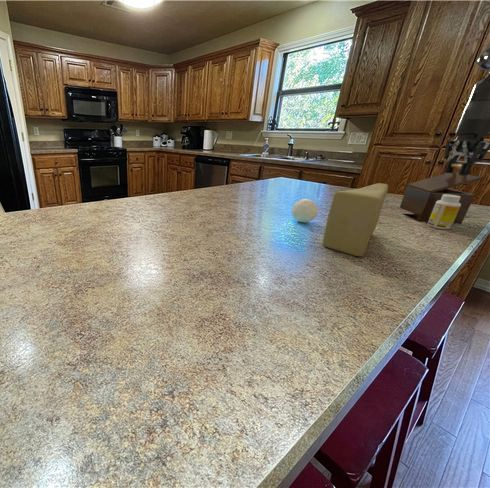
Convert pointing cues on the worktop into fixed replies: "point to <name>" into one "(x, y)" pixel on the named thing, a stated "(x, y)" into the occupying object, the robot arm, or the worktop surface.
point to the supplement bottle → (444, 212)
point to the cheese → (354, 218)
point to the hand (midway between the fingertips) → (455, 173)
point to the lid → (444, 180)
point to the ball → (305, 210)
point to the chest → (432, 203)
